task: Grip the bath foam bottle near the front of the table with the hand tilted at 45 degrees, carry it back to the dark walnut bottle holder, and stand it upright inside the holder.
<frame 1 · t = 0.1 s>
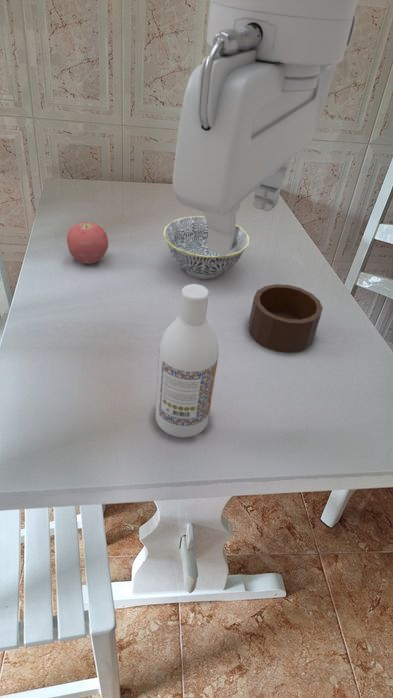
hand: (244, 226, 39), 31 cm above the table, tool pointing down, fingers open, 8 cm apart
holder: (280, 332, 81), on the table
apple: (88, 261, 94), on the table
bath foam: (181, 420, 64), on the table
bowl: (202, 270, 95), on the table
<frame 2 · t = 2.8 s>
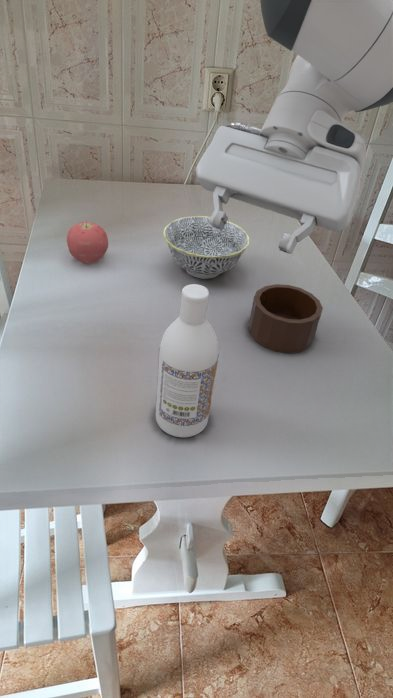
hand: (249, 238, 59), 21 cm above the table, tool tilted 45°, fingers open, 8 cm apart
nothing on the table moved.
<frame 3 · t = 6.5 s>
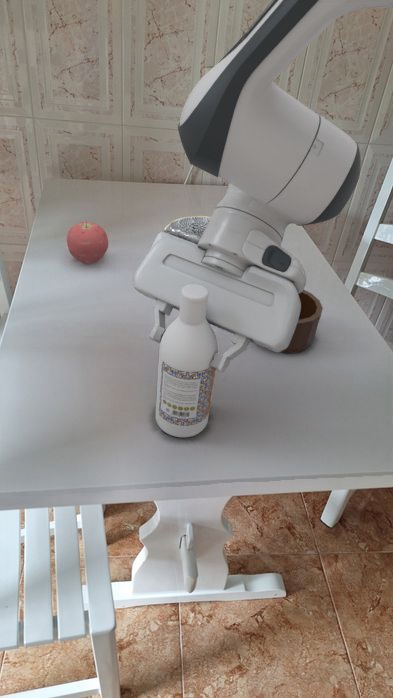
hand: (186, 355, 57), 11 cm above the table, tool tilted 45°, fingers closed on bath foam, 7 cm apart
bath foam: (181, 420, 64), on the table, touching gripper
everything else where it was.
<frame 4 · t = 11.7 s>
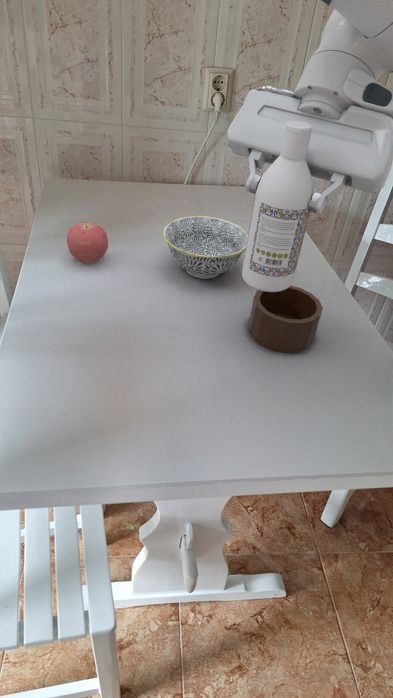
hand: (282, 200, 59), 26 cm above the table, tool tilted 45°, fingers closed on bath foam, 7 cm apart
bath foam: (266, 281, 67), point 14 cm above the table, touching gripper
everything else where it was.
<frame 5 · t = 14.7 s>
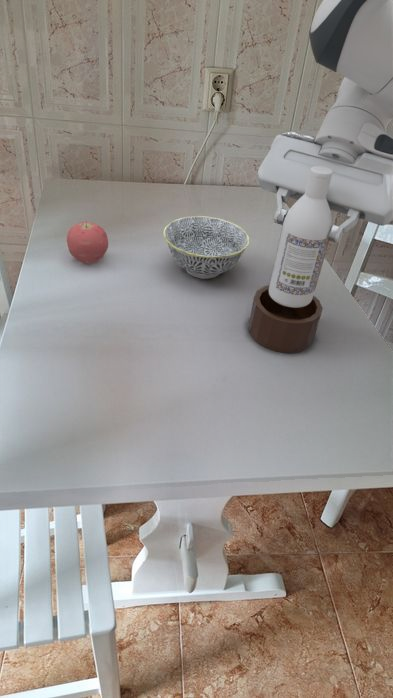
hand: (305, 231, 69), 18 cm above the table, tool tilted 45°, fingers closed on bath foam, 7 cm apart
bath foam: (289, 297, 77), point 7 cm above the table, touching gripper
everything else where it was.
when the fingers open (12 cm above the table, at t = 17.1 s): bath foam stays where it is, resting on holder.
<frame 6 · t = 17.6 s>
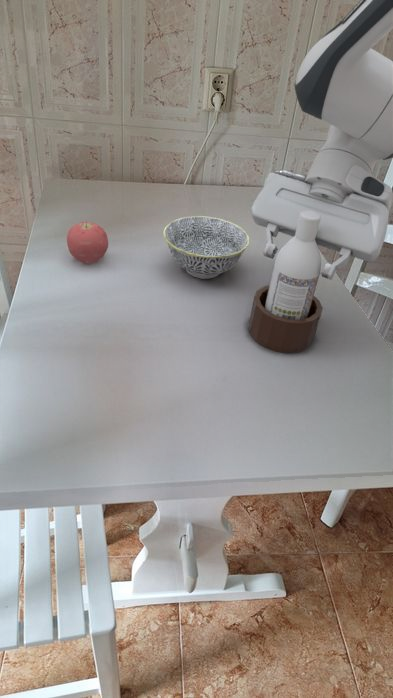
hand: (296, 266, 73), 13 cm above the table, tool tilted 45°, fingers open, 8 cm apart
bath foam: (281, 329, 81), point 1 cm above the table, touching holder
everything else where it was.
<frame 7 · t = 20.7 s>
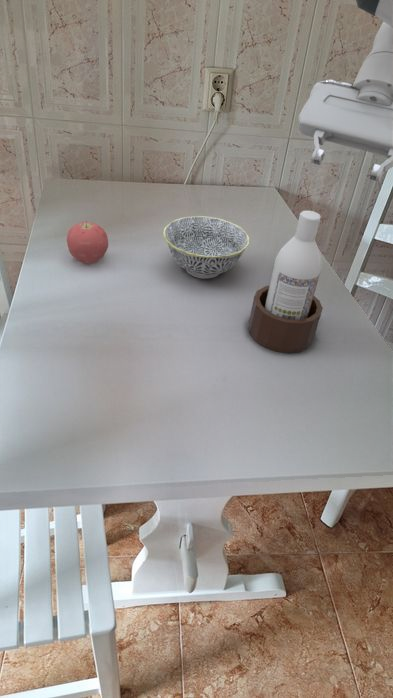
hand: (344, 170, 75), 24 cm above the table, tool tilted 45°, fingers open, 8 cm apart
nothing on the table moved.
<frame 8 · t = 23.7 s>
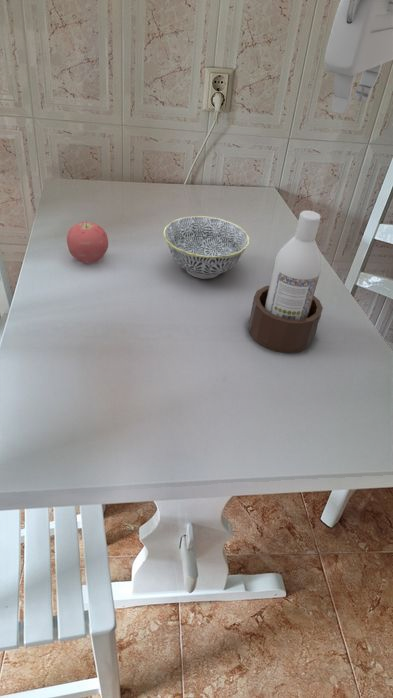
hand: (350, 106, 63), 34 cm above the table, tool pointing down, fingers open, 8 cm apart
nothing on the table moved.
at the end: bath foam 0.0 cm off-centre in the holder, point 0.6 cm above the holder's base; bath foam tilted 0°; the gripper is holding nothing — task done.
